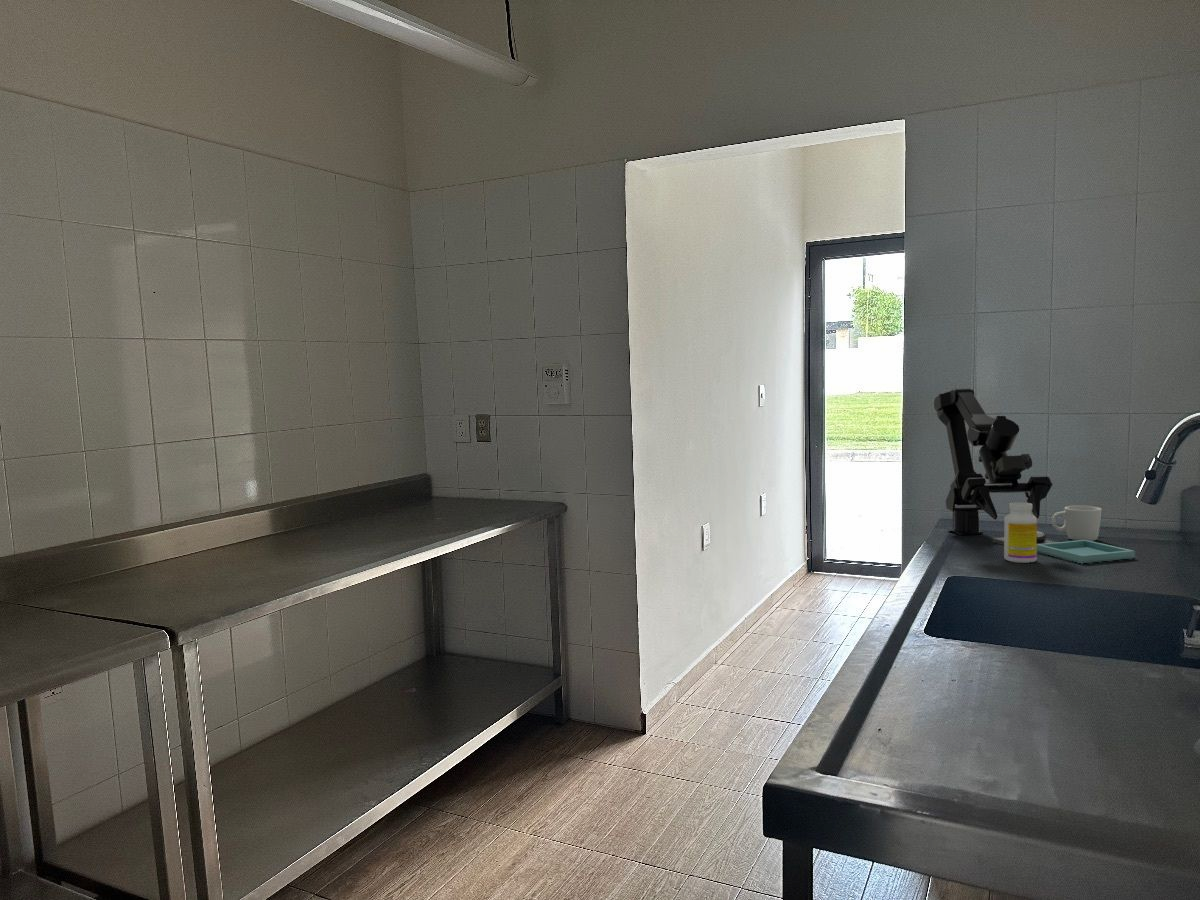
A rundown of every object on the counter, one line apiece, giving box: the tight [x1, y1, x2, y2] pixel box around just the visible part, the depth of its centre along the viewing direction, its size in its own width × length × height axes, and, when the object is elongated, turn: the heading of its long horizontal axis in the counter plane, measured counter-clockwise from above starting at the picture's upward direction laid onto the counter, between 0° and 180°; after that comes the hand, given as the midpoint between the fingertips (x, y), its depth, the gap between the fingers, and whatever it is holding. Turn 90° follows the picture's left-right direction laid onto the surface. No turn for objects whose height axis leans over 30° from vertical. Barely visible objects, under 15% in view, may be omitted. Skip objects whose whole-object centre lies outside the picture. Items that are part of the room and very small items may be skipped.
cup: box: [1051, 505, 1103, 542], centre depth 210 cm, size 11×8×8 cm
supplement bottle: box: [1003, 501, 1038, 564], centre depth 190 cm, size 7×7×13 cm
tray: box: [1037, 540, 1136, 565], centre depth 193 cm, size 14×14×2 cm
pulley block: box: [992, 530, 1056, 546], centre depth 206 cm, size 12×10×4 cm
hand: (1017, 517), depth 192 cm, fingers open, 9 cm apart
